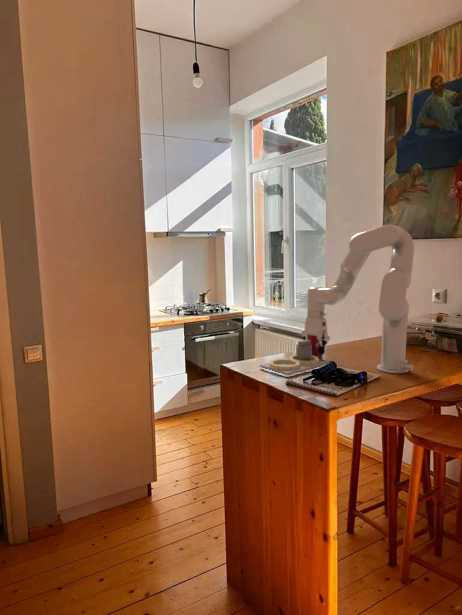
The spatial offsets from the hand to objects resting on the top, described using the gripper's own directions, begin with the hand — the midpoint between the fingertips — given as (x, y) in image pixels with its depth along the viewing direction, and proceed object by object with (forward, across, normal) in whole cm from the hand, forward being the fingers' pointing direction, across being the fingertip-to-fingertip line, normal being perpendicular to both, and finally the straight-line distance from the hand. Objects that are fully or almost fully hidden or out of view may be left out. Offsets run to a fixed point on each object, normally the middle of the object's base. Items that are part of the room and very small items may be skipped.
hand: (314, 352), depth 209 cm
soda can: (+4, 0, 0) cm, 4 cm away
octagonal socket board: (+3, -4, +18) cm, 19 cm away
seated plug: (+1, -4, +12) cm, 13 cm away
